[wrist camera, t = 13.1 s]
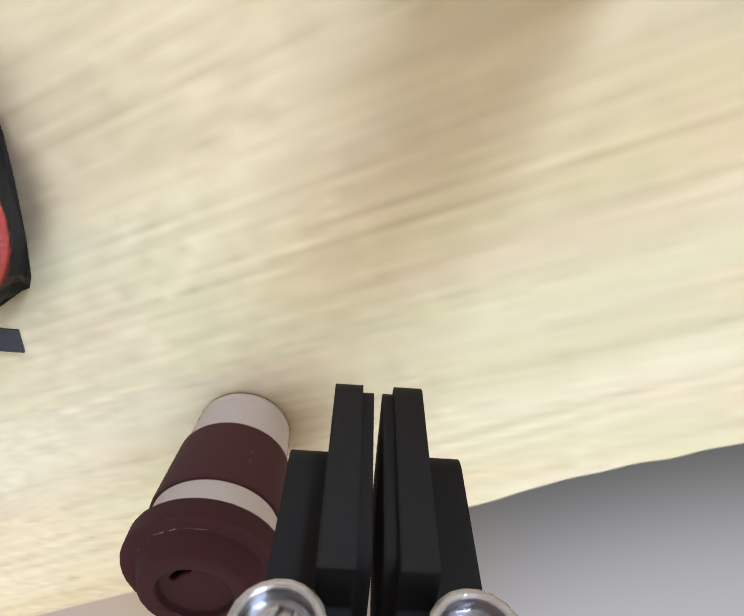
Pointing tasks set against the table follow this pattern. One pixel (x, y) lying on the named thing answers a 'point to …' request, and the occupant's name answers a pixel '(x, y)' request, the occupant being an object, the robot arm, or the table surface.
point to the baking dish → (11, 234)
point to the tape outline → (10, 341)
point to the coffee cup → (212, 512)
